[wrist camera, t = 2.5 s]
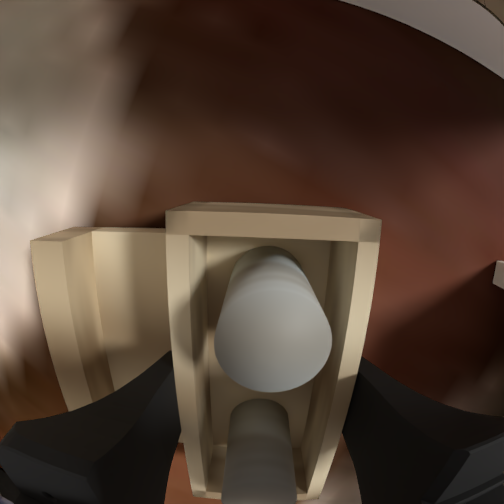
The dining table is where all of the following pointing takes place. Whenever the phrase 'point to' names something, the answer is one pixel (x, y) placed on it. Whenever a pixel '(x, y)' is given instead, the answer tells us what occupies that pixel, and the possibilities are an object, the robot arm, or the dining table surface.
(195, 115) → the dining table surface
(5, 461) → the robot arm
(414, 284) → the dining table surface
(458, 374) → the dining table surface
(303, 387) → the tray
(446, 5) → the gable box
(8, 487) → the flower pot
